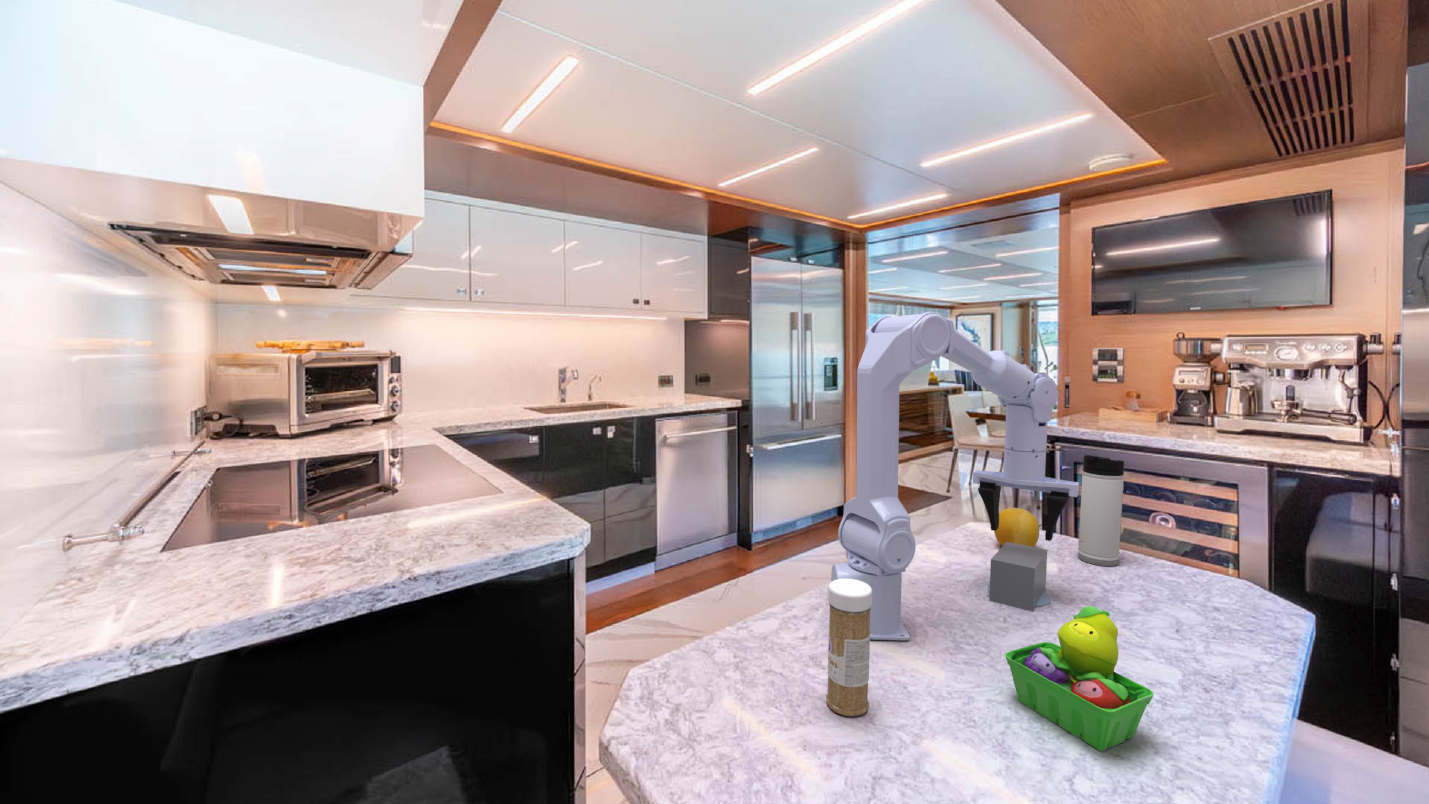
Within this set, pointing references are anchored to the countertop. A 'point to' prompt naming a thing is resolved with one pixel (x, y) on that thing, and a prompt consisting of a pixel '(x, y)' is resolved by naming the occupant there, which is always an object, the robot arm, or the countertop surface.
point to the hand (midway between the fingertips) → (1021, 533)
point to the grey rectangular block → (1018, 575)
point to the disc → (1043, 600)
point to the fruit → (1017, 527)
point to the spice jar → (849, 646)
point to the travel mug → (1101, 510)
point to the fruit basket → (1081, 681)
